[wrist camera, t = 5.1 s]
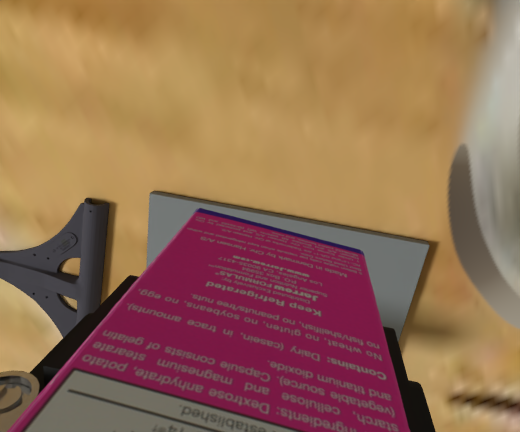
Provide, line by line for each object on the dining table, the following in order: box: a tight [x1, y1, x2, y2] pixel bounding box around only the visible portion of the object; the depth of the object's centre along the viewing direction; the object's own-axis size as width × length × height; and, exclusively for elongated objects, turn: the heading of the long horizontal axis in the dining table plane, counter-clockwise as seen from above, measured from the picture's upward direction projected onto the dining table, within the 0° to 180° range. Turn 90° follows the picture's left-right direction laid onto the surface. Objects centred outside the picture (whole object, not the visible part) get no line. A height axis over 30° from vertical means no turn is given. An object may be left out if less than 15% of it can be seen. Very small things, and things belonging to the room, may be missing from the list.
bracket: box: [0, 198, 109, 338], centre depth 30 cm, size 14×15×3 cm
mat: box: [147, 191, 429, 341], centre depth 29 cm, size 18×18×1 cm
